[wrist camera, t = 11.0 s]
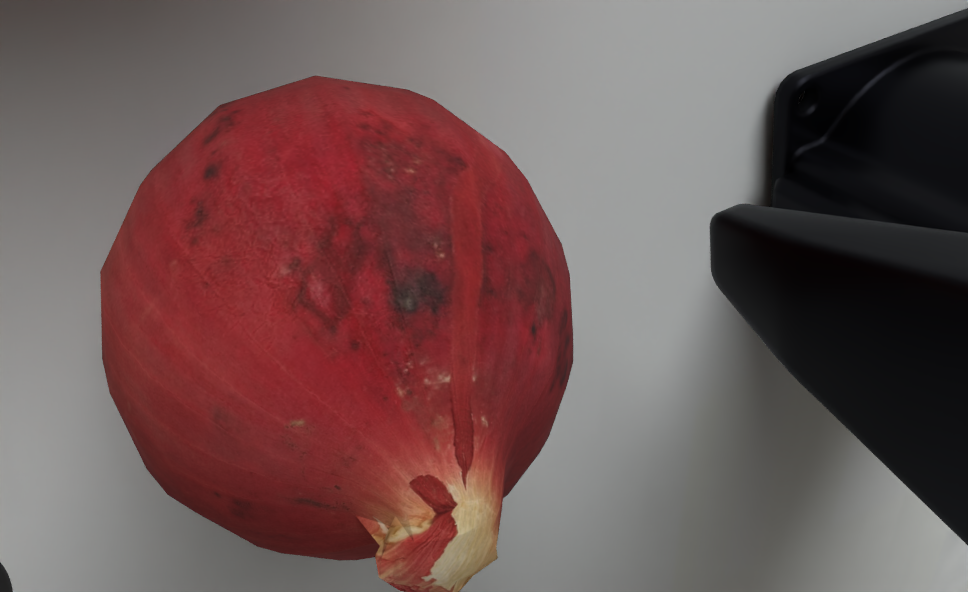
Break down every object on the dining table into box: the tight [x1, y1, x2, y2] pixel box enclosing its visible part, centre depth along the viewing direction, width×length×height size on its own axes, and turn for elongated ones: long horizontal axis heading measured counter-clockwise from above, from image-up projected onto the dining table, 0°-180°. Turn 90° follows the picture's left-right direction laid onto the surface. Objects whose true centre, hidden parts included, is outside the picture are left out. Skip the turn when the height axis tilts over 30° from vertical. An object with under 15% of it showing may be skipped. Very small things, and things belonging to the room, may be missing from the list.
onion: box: [100, 76, 573, 592], centre depth 10 cm, size 6×6×8 cm
